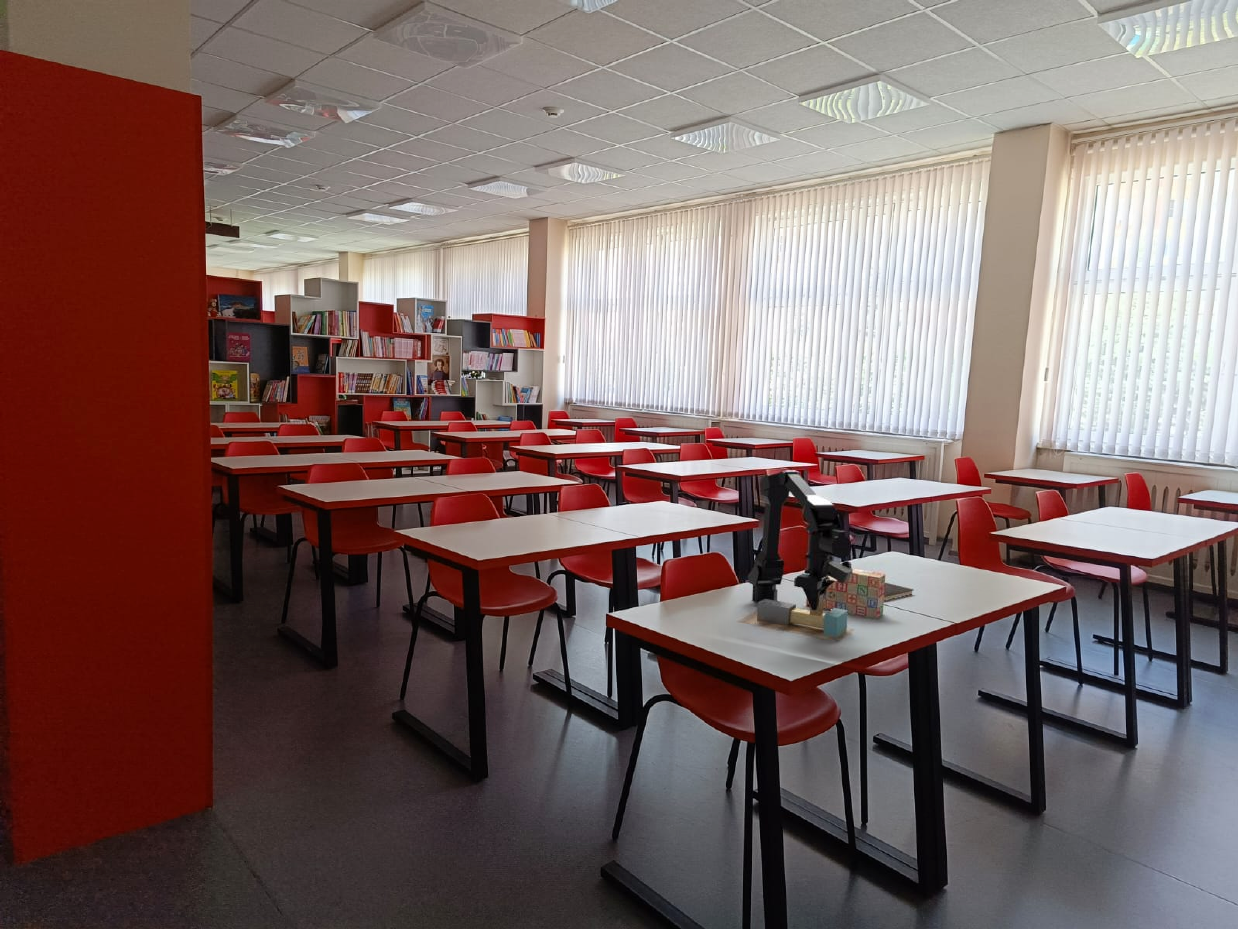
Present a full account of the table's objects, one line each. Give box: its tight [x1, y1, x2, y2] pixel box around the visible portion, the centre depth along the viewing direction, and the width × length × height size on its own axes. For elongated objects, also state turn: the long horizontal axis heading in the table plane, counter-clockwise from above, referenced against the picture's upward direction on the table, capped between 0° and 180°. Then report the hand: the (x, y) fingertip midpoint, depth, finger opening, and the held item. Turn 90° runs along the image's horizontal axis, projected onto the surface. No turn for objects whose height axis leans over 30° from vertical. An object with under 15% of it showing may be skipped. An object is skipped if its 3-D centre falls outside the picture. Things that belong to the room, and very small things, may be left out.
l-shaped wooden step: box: [789, 593, 826, 629], centre depth 203 cm, size 17×3×9 cm, turn 55°
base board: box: [737, 610, 855, 642], centre depth 204 cm, size 28×13×1 cm, turn 55°
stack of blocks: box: [805, 568, 886, 620], centre depth 223 cm, size 21×6×12 cm, turn 54°
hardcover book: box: [884, 582, 914, 601], centre depth 248 cm, size 16×23×2 cm
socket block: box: [823, 608, 848, 638], centre depth 197 cm, size 4×8×5 cm, turn 145°
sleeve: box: [756, 599, 797, 626], centre depth 207 cm, size 9×5×5 cm, turn 55°
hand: (816, 608), depth 200 cm, fingers closed on l-shaped wooden step, 3 cm apart
